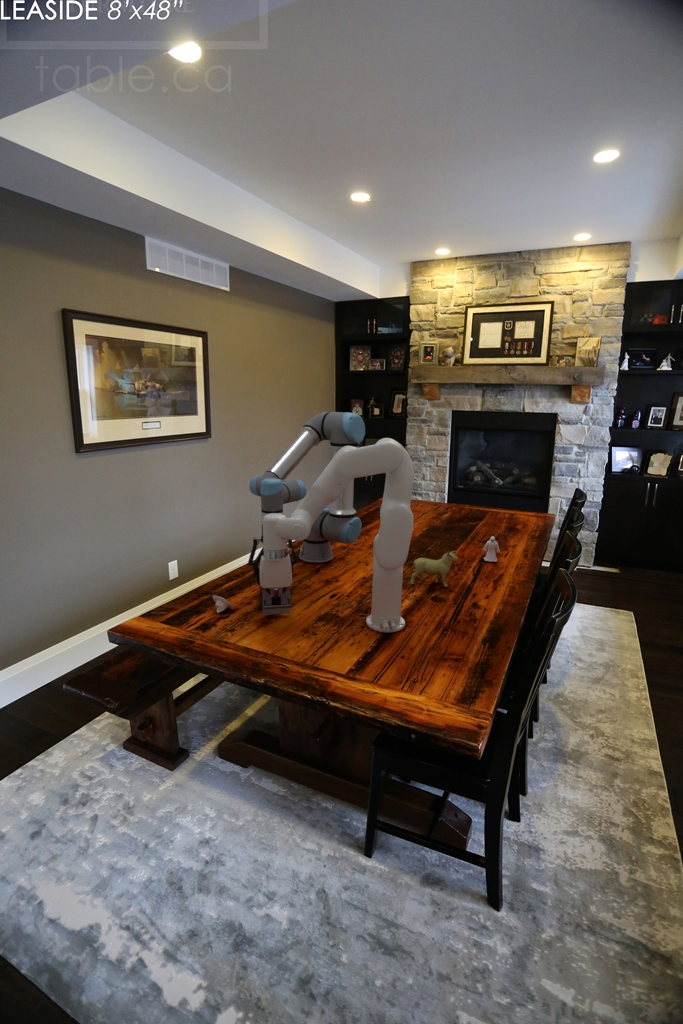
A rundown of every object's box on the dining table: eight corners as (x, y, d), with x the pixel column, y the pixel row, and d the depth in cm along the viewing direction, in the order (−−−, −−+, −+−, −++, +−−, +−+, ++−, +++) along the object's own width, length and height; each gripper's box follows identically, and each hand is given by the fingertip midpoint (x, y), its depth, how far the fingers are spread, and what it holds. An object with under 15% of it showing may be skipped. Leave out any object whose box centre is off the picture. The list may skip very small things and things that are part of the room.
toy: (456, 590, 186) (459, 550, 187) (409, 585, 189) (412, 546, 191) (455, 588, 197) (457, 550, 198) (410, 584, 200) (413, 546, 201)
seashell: (218, 620, 170) (203, 603, 170) (229, 610, 174) (214, 593, 173) (227, 616, 164) (211, 598, 164) (238, 606, 168) (222, 587, 167)
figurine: (481, 562, 222) (483, 536, 219) (482, 556, 230) (484, 531, 227) (499, 564, 220) (501, 538, 217) (499, 558, 228) (501, 533, 225)
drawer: (291, 621, 161) (291, 596, 159) (263, 623, 159) (263, 598, 157) (287, 598, 179) (286, 575, 177) (261, 599, 177) (261, 576, 175)
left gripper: (303, 519, 181) (303, 576, 186) (239, 521, 177) (241, 580, 182) (305, 524, 174) (306, 584, 179) (239, 527, 170) (241, 588, 175)
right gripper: (297, 547, 162) (298, 600, 167) (251, 549, 160) (252, 603, 164) (300, 555, 155) (300, 609, 160) (251, 557, 153) (253, 612, 157)
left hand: (273, 582), depth 181 cm, fingers closed on cabinet, 10 cm apart
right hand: (276, 606), depth 162 cm, fingers closed
